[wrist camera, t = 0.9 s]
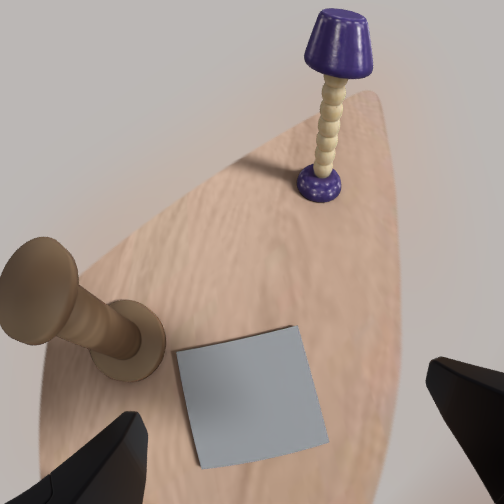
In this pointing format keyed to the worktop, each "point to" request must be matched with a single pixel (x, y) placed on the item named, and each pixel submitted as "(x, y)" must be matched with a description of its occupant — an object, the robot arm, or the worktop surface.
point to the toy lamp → (333, 90)
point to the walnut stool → (76, 313)
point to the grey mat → (251, 399)
